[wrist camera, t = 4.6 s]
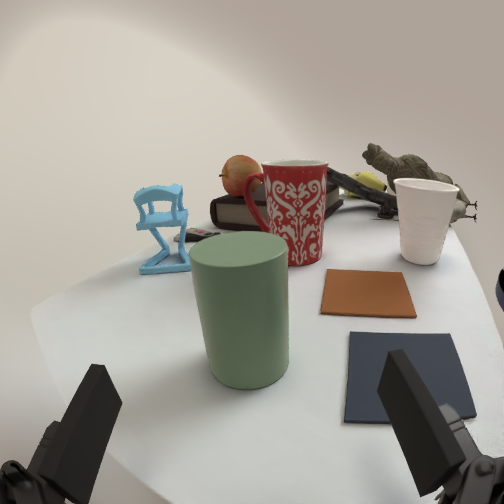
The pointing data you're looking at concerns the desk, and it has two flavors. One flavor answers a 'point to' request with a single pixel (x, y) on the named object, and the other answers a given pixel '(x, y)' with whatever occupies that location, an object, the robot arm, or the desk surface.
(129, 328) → the desk surface
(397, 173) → the statue
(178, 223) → the chair
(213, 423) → the desk surface
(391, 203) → the figurine
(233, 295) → the canister
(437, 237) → the cup
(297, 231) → the mug
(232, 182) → the apple
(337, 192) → the book
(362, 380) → the slate mat
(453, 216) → the decorative bird
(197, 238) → the usb flash drive
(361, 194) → the handgun
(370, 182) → the toy
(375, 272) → the cork mat
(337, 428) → the desk surface
